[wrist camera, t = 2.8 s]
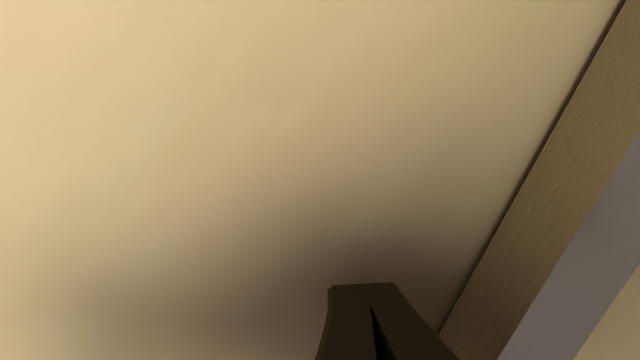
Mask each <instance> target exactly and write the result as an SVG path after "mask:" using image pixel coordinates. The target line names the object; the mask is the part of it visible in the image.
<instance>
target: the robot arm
mask: <svg viewBox="0 0 640 360" xmlns="http://www.w3.org/2000/svg"><path fill="white" fill-rule="evenodd" d="M315 360H460V359H459V358H458V357H457V356H456V355H455V354H454V353H453V352H452V351H451V350H450V349H449V348H448V347H447V346H446V345H445V344H444V342H443V341H442V340H441V339H440V338H439V337H438V336H437V335H436V334H435V333H434V332H433V331H432V329H431V328H430V327H429V326H428V325H427V324H426V323H425V321H424V320H423V319H422V318H421V317H420V315H419V314H418V313H417V312H416V311H415V309H414V308H413V307H412V306H411V304H410V303H409V302H408V301H407V299H406V298H405V297H404V295H403V294H402V293H401V292H400V290H399V289H398V288H397V286H396V285H394V284H393V283H392V282H387V283H369V284H351V285H333V286H332V287H331V288H330V289H329V290H328V311H327V317H326V322H325V327H324V331H323V334H322V338H321V341H320V345H319V349H318V352H317V355H316V358H315Z"/></svg>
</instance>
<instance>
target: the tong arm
mask: <svg viewBox="0 0 640 360" xmlns="http://www.w3.org/2000/svg"><path fill="white" fill-rule="evenodd" d="M639 262H640V0H626V1H625V3H624V5H623V7H622V9H621V10H620V12H619V14H618V16H617V18H616V19H615V21H614V23H613V25H612V26H611V28H610V30H609V32H608V34H607V35H606V37H605V39H604V41H603V42H602V44H601V46H600V48H599V50H598V51H597V53H596V55H595V57H594V58H593V60H592V62H591V64H590V66H589V67H588V69H587V71H586V73H585V75H584V76H583V78H582V80H581V82H580V83H579V85H578V87H577V89H576V91H575V92H574V94H573V96H572V98H571V99H570V101H569V103H568V105H567V107H566V108H565V110H564V112H563V114H562V115H561V117H560V119H559V121H558V123H557V124H556V126H555V128H554V130H553V131H552V133H551V135H550V137H549V139H548V140H547V142H546V144H545V146H544V148H543V149H542V151H541V153H540V155H539V156H538V158H537V160H536V162H535V164H534V165H533V167H532V169H531V171H530V172H529V174H528V176H527V178H526V180H525V181H524V183H523V185H522V187H521V188H520V190H519V192H518V194H517V196H516V197H515V199H514V201H513V203H512V205H511V206H510V208H509V210H508V212H507V213H506V215H505V217H504V219H503V221H502V222H501V224H500V226H499V228H498V229H497V231H496V233H495V235H494V237H493V238H492V240H491V242H490V244H489V245H488V247H487V249H486V251H485V253H484V254H483V256H482V258H481V260H480V261H479V263H478V265H477V267H476V269H475V270H474V272H473V274H472V276H471V278H470V279H469V281H468V283H467V285H466V286H465V288H464V290H463V292H462V294H461V295H460V297H459V299H458V301H457V302H456V304H455V306H454V308H453V310H452V311H451V313H450V315H449V317H448V318H447V320H446V322H445V324H444V326H443V327H442V329H441V331H440V333H439V335H438V337H439V338H440V339H441V340H442V341H443V342H444V344H445V345H446V346H447V347H448V348H449V349H450V350H451V351H452V352H453V353H454V354H455V355H456V356H457V357H458V358H459V359H460V360H573V358H574V357H575V356H576V354H577V353H578V351H579V350H580V348H581V347H582V345H583V344H584V342H585V341H586V340H587V338H588V337H589V335H590V334H591V332H592V331H593V329H594V328H595V326H596V325H597V323H598V322H599V321H600V319H601V318H602V316H603V315H604V313H605V312H606V310H607V309H608V307H609V306H610V304H611V303H612V302H613V300H614V299H615V297H616V296H617V294H618V293H619V291H620V290H621V288H622V287H623V285H624V284H625V283H626V281H627V280H628V278H629V277H630V275H631V274H632V272H633V271H634V269H635V268H636V267H637V265H638V264H639Z"/></svg>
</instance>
